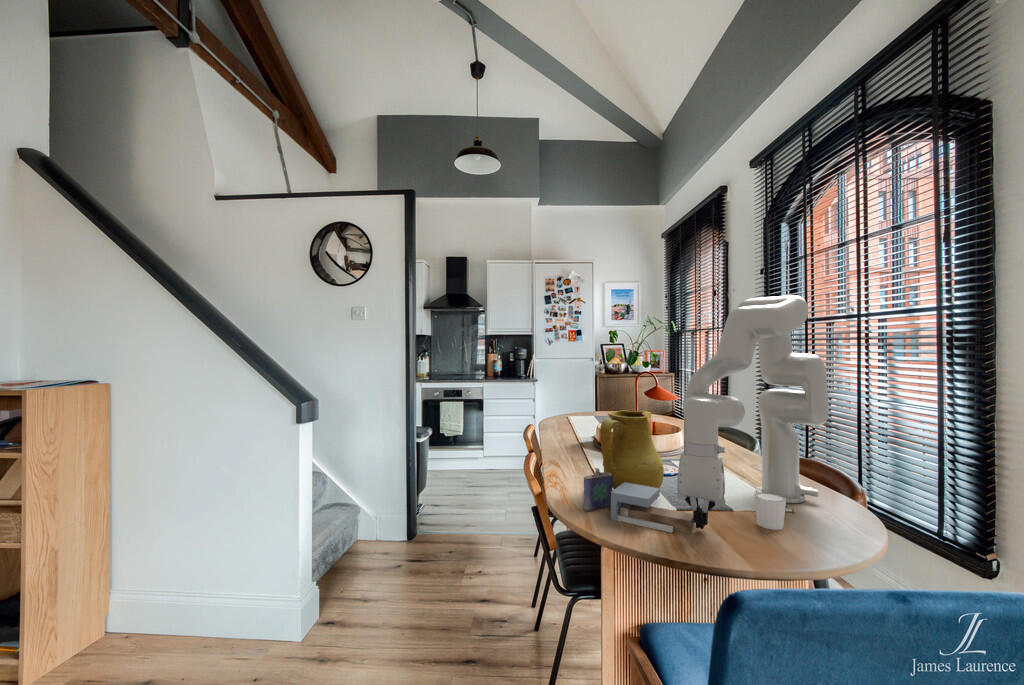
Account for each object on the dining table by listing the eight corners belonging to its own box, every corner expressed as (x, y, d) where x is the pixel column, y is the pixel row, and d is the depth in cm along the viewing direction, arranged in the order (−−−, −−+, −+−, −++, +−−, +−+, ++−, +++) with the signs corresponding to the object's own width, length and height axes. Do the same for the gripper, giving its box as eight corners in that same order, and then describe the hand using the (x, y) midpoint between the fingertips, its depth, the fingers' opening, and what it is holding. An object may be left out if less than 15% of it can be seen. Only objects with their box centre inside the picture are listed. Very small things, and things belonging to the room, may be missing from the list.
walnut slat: (694, 526, 110) (694, 514, 110) (691, 533, 105) (691, 521, 105) (625, 513, 118) (625, 501, 118) (619, 519, 114) (619, 507, 114)
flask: (587, 512, 119) (587, 472, 119) (580, 508, 121) (580, 469, 121) (614, 507, 123) (614, 468, 123) (607, 503, 125) (607, 465, 125)
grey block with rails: (681, 519, 114) (681, 492, 114) (671, 533, 105) (671, 503, 105) (624, 507, 122) (624, 482, 122) (610, 519, 114) (610, 492, 114)
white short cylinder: (789, 532, 106) (789, 503, 106) (756, 528, 109) (756, 499, 109) (782, 521, 113) (782, 494, 113) (752, 518, 115) (752, 491, 115)
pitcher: (674, 505, 123) (669, 413, 124) (606, 507, 124) (601, 416, 125) (655, 487, 140) (651, 407, 141) (596, 489, 141) (592, 409, 142)
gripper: (737, 450, 106) (737, 528, 105) (672, 442, 114) (671, 515, 114) (733, 457, 99) (733, 540, 99) (664, 448, 107) (664, 525, 107)
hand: (700, 526), depth 106 cm, fingers closed
